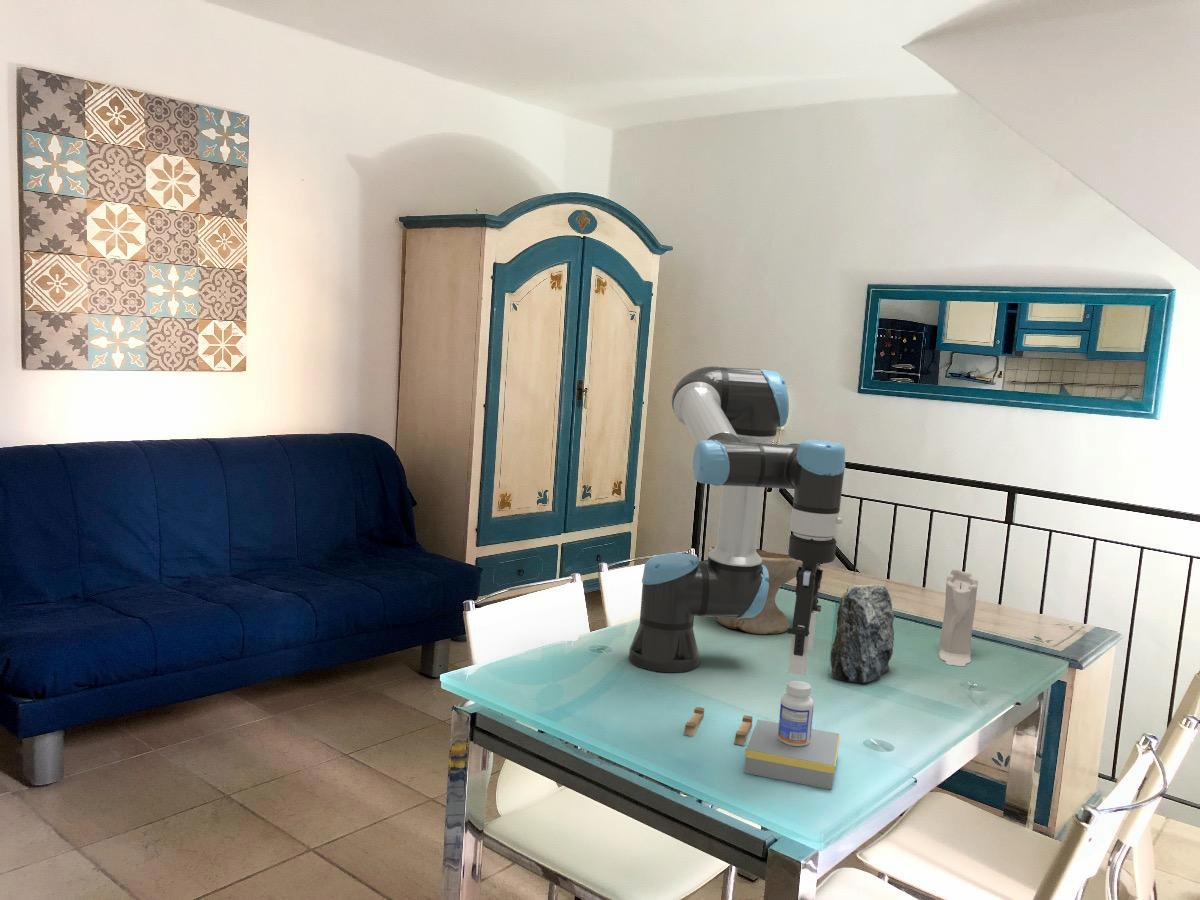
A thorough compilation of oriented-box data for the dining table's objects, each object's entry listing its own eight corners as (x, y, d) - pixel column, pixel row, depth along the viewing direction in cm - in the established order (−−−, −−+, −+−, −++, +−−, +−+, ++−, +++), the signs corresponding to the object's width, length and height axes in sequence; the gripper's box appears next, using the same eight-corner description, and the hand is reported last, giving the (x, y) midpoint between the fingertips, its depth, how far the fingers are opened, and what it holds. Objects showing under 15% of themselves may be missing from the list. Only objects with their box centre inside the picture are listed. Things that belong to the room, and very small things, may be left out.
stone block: (859, 688, 204) (869, 595, 202) (823, 676, 211) (831, 586, 208) (903, 672, 217) (913, 585, 215) (868, 661, 223) (876, 576, 221)
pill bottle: (787, 731, 168) (792, 676, 167) (815, 741, 164) (821, 685, 163) (771, 740, 164) (776, 683, 162) (800, 750, 160) (805, 692, 159)
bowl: (819, 624, 251) (826, 548, 249) (782, 646, 230) (790, 563, 228) (727, 605, 265) (734, 532, 263) (685, 624, 243) (692, 545, 241)
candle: (939, 663, 226) (948, 578, 223) (938, 647, 239) (947, 566, 237) (972, 668, 223) (981, 583, 221) (970, 652, 236) (979, 570, 234)
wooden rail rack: (684, 734, 173) (684, 725, 173) (695, 715, 183) (696, 706, 183) (743, 745, 170) (744, 735, 170) (751, 725, 180) (752, 716, 180)
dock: (743, 772, 159) (745, 749, 159) (755, 740, 173) (757, 719, 172) (832, 790, 155) (835, 765, 155) (837, 755, 169) (840, 733, 168)
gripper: (831, 553, 147) (817, 689, 150) (841, 524, 171) (829, 642, 173) (781, 547, 149) (768, 680, 152) (797, 519, 173) (786, 635, 175)
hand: (800, 660), depth 163 cm, fingers open, 13 cm apart
